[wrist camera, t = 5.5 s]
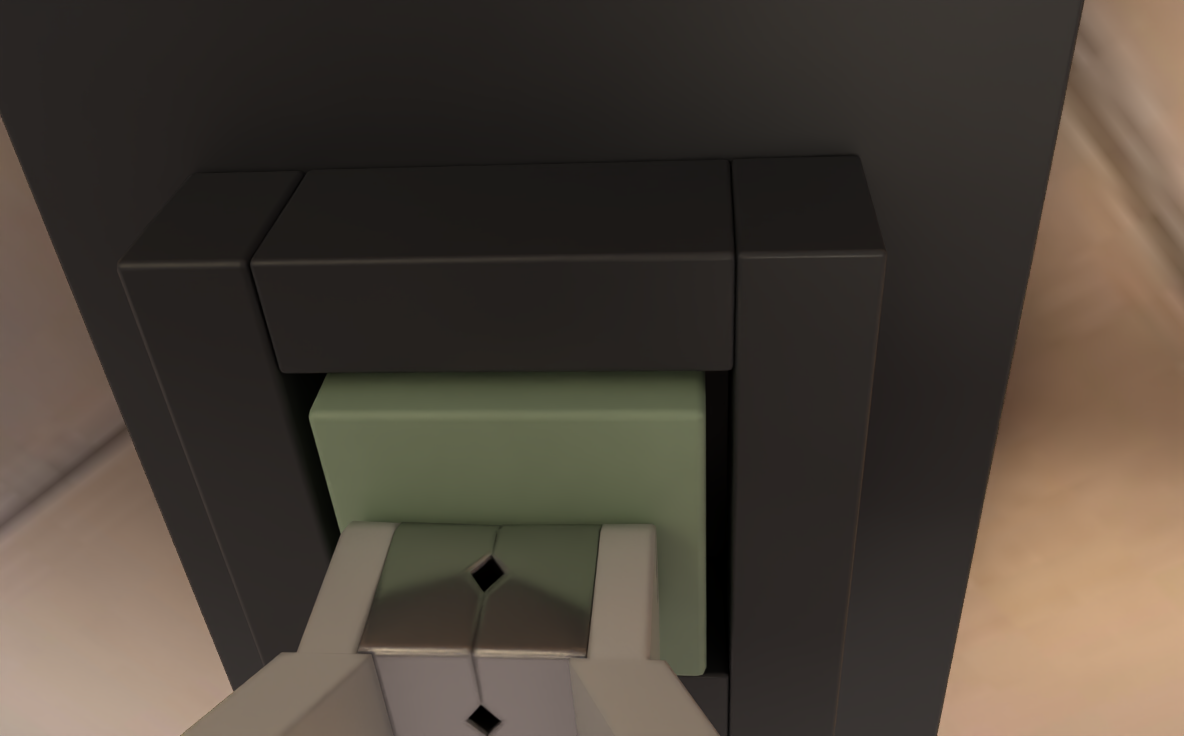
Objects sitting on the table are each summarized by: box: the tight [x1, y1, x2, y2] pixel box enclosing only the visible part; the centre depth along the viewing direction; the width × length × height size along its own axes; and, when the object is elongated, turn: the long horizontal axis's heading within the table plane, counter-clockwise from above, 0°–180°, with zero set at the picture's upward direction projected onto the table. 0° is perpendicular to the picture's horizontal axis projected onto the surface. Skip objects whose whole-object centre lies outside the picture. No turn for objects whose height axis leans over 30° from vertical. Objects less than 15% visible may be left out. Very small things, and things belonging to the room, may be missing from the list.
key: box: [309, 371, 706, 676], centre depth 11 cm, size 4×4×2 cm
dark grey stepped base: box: [0, 0, 1084, 736], centre depth 12 cm, size 12×10×3 cm
